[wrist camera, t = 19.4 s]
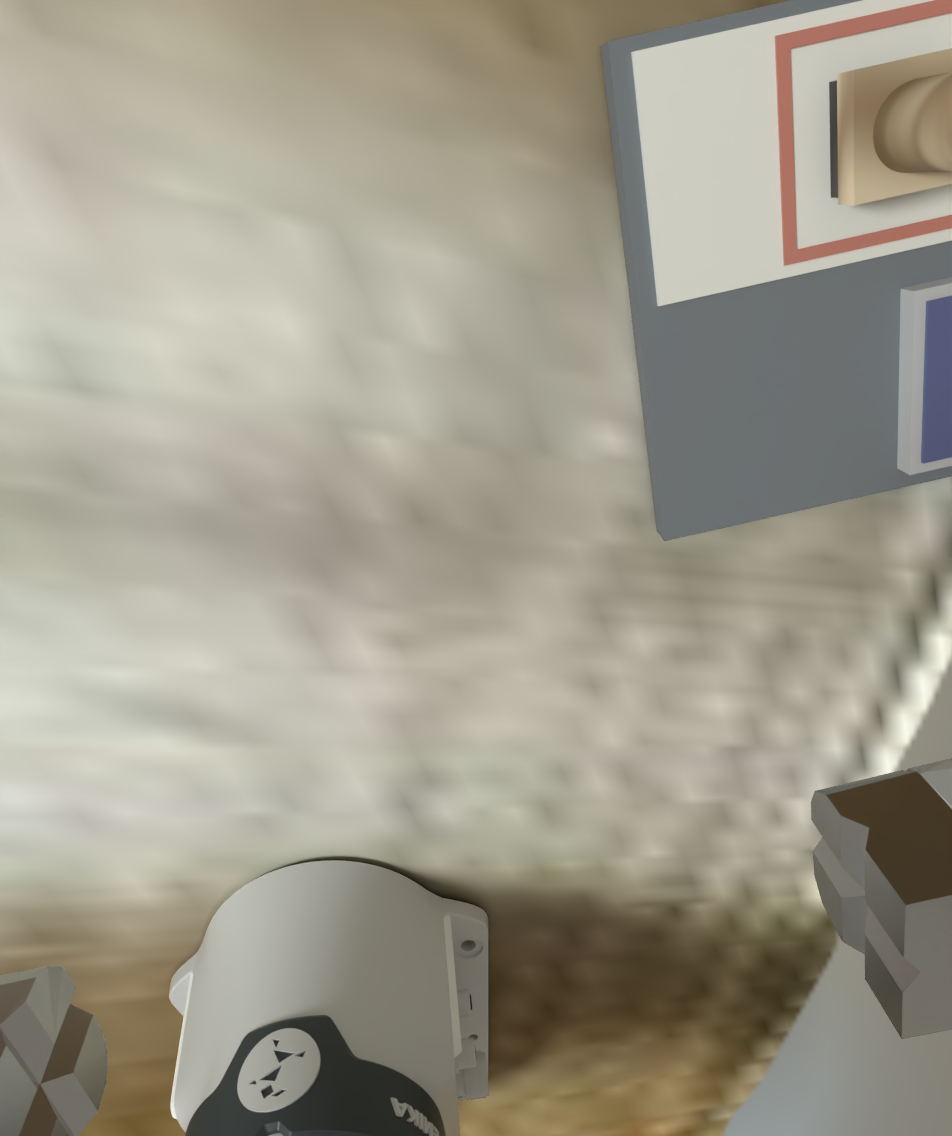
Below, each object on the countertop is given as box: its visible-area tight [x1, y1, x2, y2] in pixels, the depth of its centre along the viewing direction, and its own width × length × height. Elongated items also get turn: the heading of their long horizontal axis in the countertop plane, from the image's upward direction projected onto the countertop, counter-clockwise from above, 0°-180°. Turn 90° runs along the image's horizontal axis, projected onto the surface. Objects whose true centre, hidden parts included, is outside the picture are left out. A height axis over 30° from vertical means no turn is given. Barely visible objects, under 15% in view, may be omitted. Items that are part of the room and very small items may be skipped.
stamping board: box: [600, 0, 952, 541], centre depth 34 cm, size 20×20×2 cm
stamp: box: [829, 48, 952, 205], centre depth 28 cm, size 4×4×8 cm
